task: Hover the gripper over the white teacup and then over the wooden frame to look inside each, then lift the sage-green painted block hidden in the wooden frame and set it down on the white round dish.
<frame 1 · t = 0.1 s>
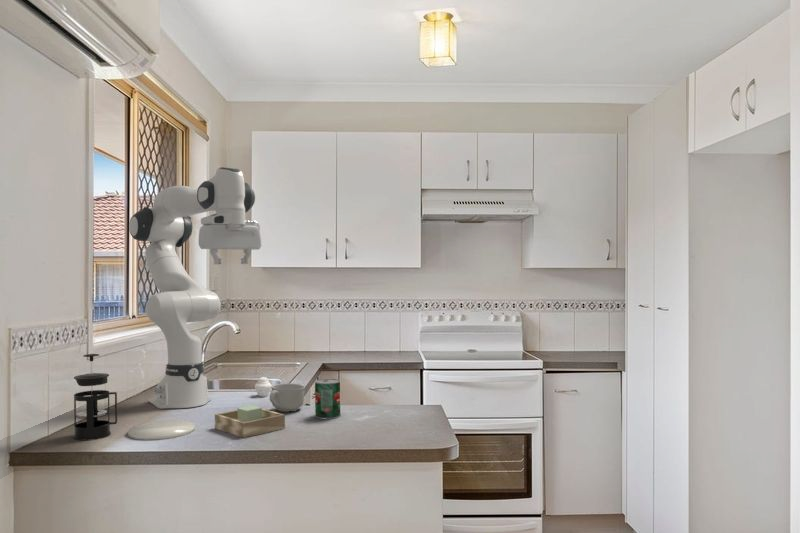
hand: (231, 264, 199), 48 cm above the countertop, fingers open, 8 cm apart
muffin: (263, 396, 233), on the countertop
wooden frame: (249, 428, 186), on the countertop
canned tomato: (327, 416, 201), on the countertop
white round dish: (161, 431, 184), on the countertop
block: (249, 418, 186), in the wooden frame
french press: (94, 436, 180), on the countertop
teacup: (284, 411, 208), on the countertop
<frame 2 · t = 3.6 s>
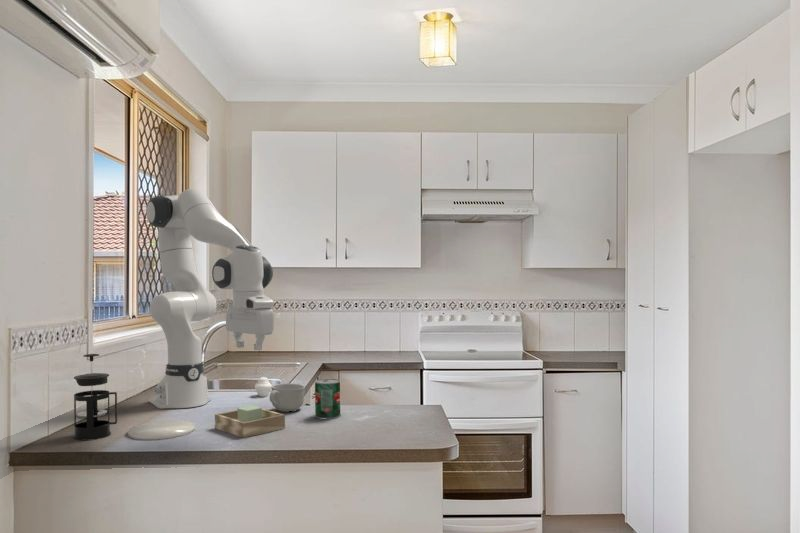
hand: (248, 348, 186), 23 cm above the countertop, fingers open, 8 cm apart
nothing on the countertop moved.
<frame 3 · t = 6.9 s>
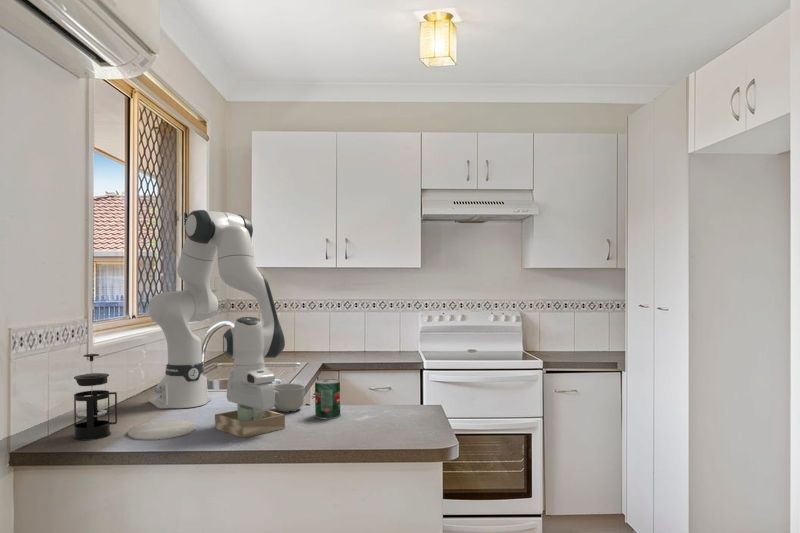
hand: (249, 421, 186), 2 cm above the countertop, fingers closed on block, 5 cm apart
block: (249, 418, 186), in the wooden frame, touching gripper
everything else where it was.
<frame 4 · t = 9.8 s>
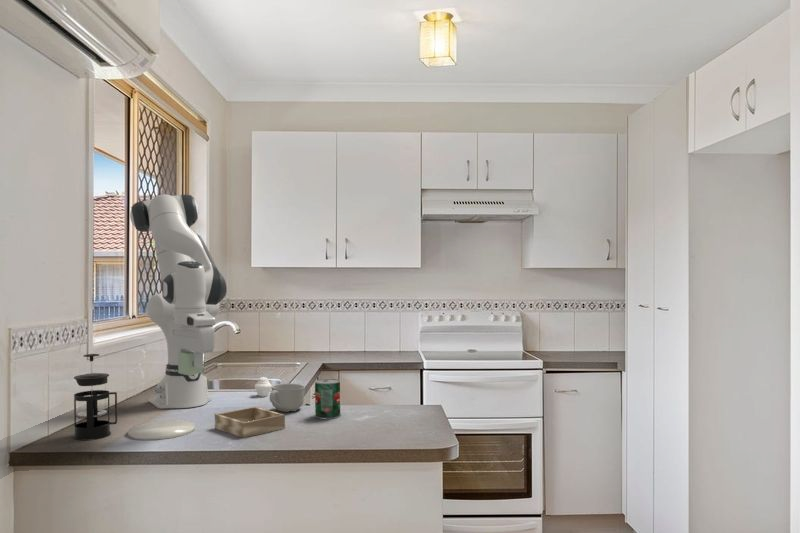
hand: (190, 365, 185), 19 cm above the countertop, fingers closed on block, 5 cm apart
block: (190, 362, 185), point 20 cm above the countertop, touching gripper
everything else where it was.
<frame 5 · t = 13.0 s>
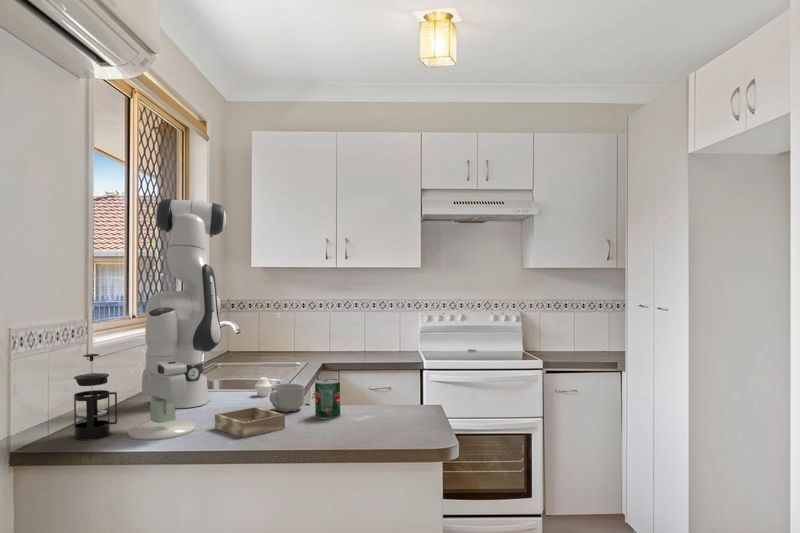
hand: (163, 413, 184), 5 cm above the countertop, fingers closed on block, 5 cm apart
block: (162, 409, 184), point 6 cm above the countertop, touching gripper
everything else where it was.
when the fingers open (5 cm above the countertop, at t = 13.6 s): block drops 1 cm, resting on white round dish.
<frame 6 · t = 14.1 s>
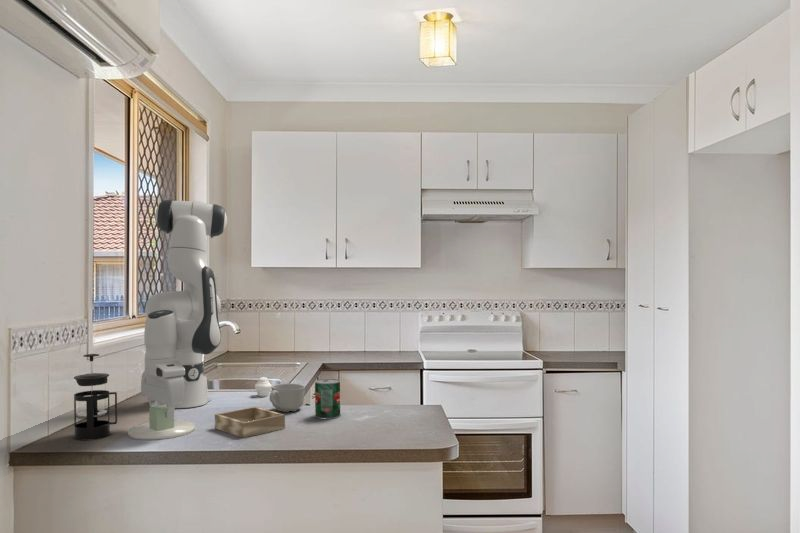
hand: (161, 415, 184), 5 cm above the countertop, fingers open, 8 cm apart
block: (161, 417, 184), on the white round dish, point 4 cm above the countertop
everything else where it was.
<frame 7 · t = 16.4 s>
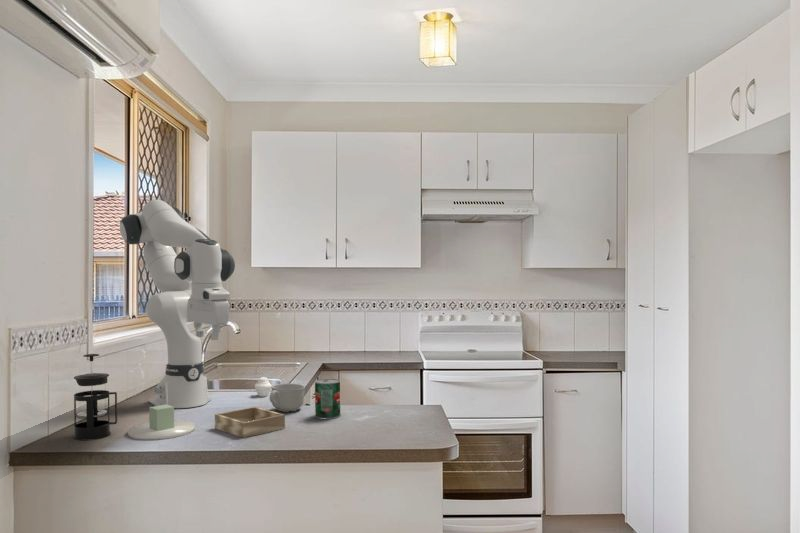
hand: (206, 338, 194), 25 cm above the countertop, fingers open, 8 cm apart
nothing on the countertop moved.
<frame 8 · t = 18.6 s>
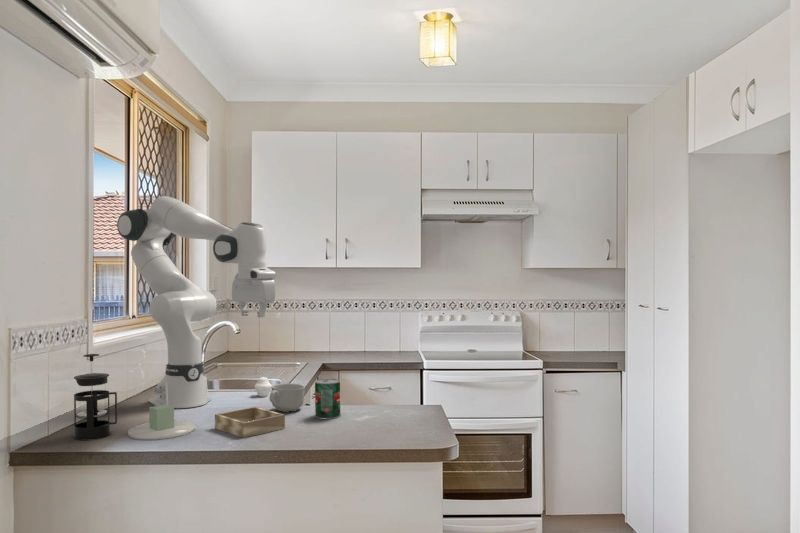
hand: (252, 316, 205), 31 cm above the countertop, fingers open, 8 cm apart
nothing on the countertop moved.
at the end: block 0.0 cm from the white round dish (horizontally); block inside the target area on the white round dish (0.0 cm from its centre), point 4.0 cm above the white round dish's base; the gripper is holding nothing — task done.
